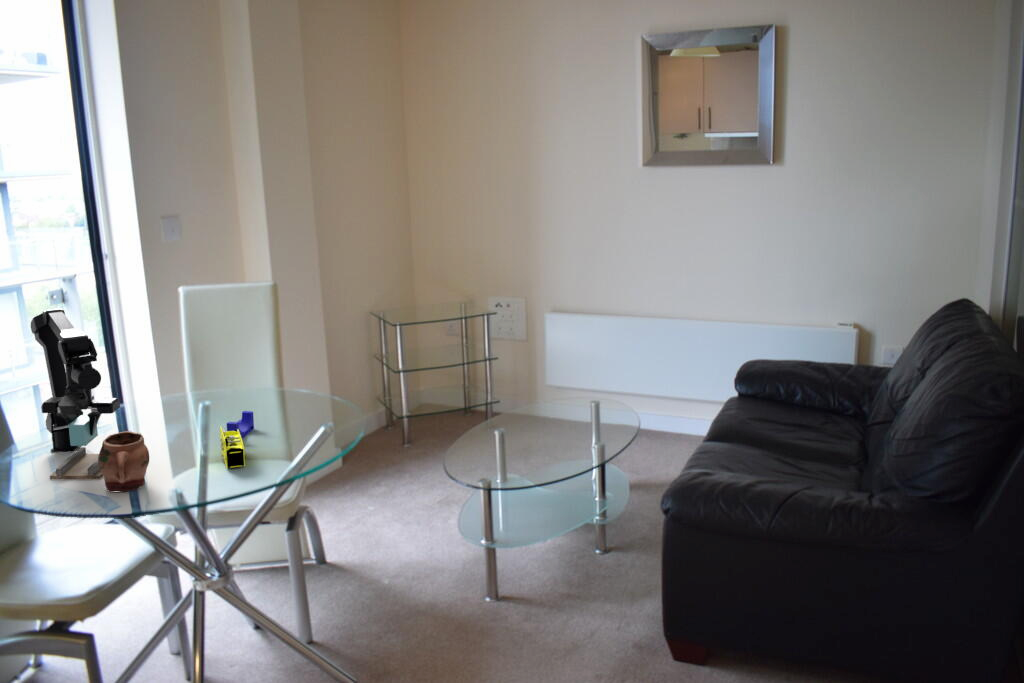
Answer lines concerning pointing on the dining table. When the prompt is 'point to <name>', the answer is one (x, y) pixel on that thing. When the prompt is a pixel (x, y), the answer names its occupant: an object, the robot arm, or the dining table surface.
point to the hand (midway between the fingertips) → (84, 435)
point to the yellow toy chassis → (232, 448)
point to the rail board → (79, 467)
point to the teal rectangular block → (81, 431)
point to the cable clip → (242, 424)
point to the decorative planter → (123, 461)
